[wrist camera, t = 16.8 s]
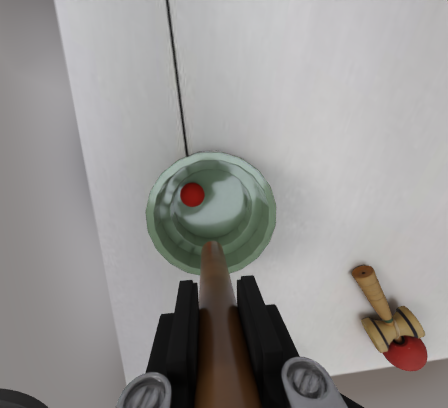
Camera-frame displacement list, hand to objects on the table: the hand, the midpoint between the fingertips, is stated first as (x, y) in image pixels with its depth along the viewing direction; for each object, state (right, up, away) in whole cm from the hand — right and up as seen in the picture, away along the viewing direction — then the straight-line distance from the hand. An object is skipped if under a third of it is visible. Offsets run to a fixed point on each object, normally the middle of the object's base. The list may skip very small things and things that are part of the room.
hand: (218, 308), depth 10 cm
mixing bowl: (-2, +5, +20) cm, 21 cm away
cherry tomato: (-4, +6, +18) cm, 19 cm away
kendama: (+25, -12, +27) cm, 39 cm away
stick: (-1, +1, +9) cm, 9 cm away
